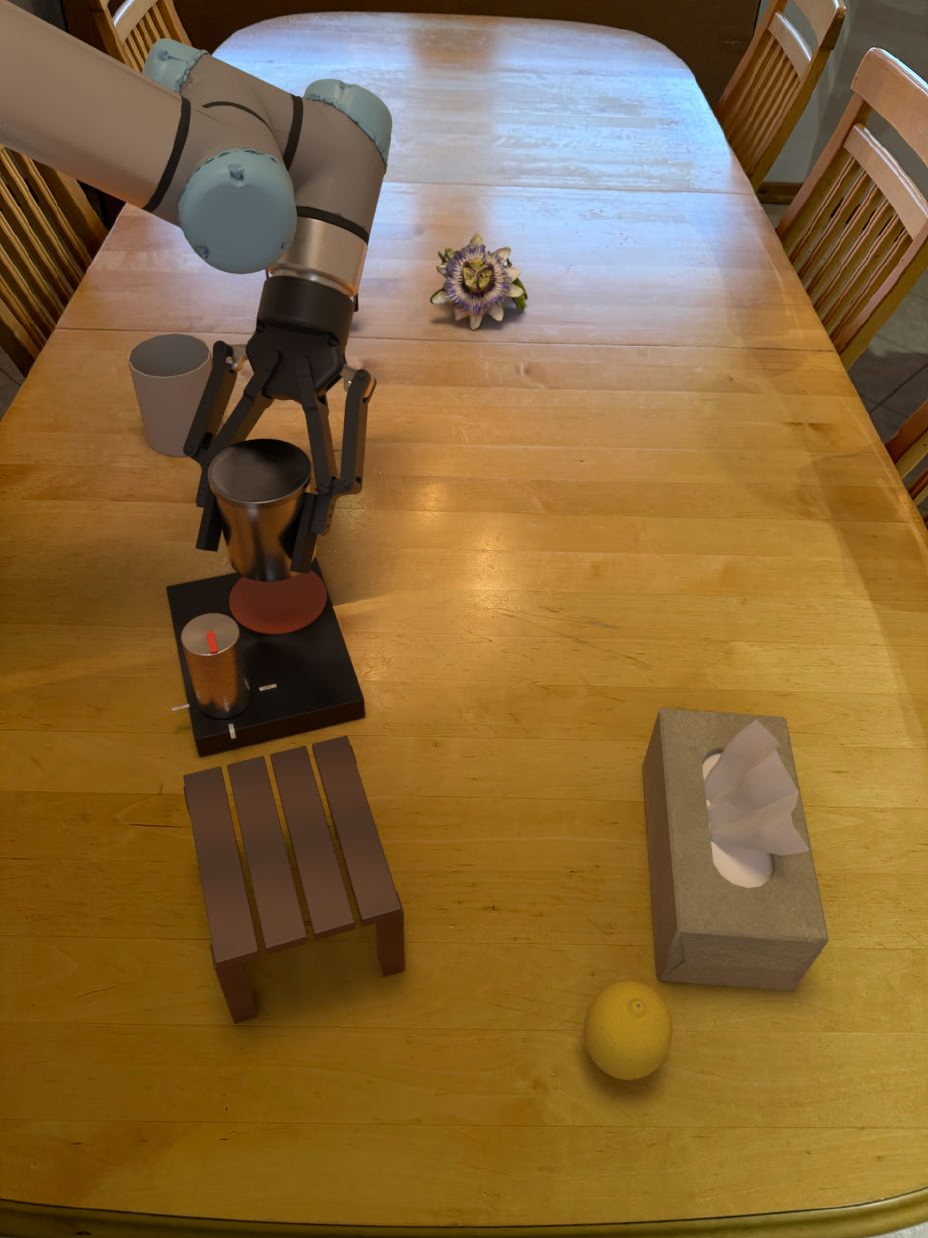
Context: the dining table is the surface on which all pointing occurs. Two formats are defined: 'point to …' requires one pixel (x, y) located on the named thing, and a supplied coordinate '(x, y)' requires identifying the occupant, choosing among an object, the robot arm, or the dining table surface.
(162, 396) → the cup
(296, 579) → the burner
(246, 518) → the pot
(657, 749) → the tissue box
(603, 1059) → the lemon
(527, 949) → the dining table surface
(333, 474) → the robot arm
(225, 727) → the hob
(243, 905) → the drying rack
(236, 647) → the hob knob
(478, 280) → the passion flower
